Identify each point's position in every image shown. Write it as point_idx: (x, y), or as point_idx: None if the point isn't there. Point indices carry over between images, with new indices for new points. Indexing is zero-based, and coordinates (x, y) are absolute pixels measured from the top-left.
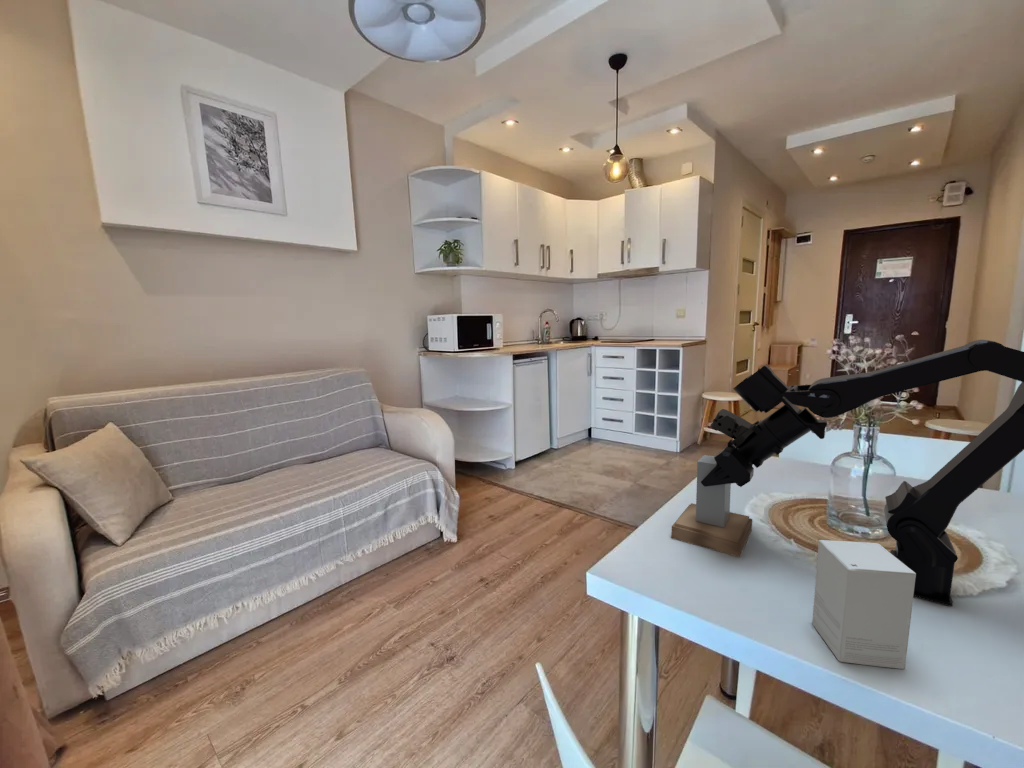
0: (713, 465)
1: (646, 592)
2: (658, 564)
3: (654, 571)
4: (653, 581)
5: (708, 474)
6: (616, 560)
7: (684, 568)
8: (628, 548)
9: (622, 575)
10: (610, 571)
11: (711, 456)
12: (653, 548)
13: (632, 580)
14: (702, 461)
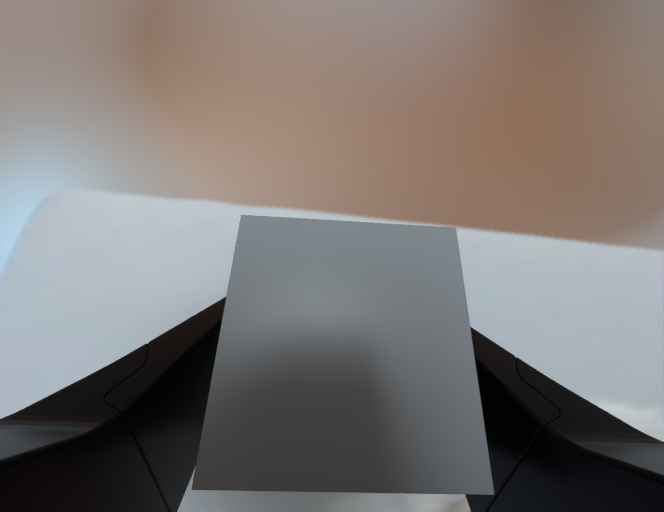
0: (222, 349)
1: (4, 281)
2: (123, 272)
3: (91, 273)
4: (50, 281)
5: (175, 328)
6: (111, 199)
7: (125, 324)
8: (169, 204)
9: (57, 225)
10: (65, 203)
11: (449, 286)
12: (190, 245)
13: (43, 246)
14: (257, 249)
